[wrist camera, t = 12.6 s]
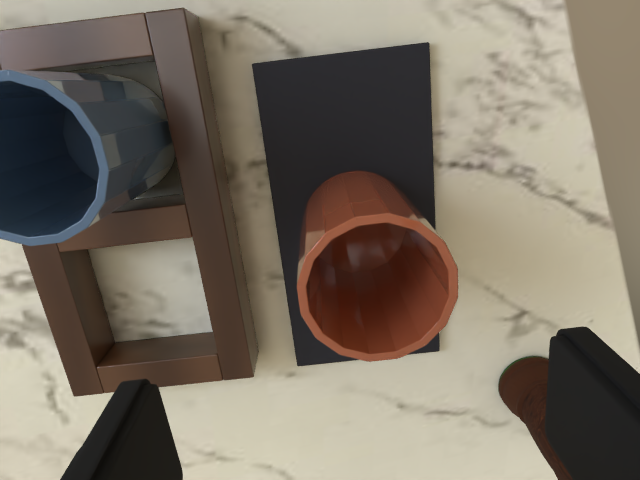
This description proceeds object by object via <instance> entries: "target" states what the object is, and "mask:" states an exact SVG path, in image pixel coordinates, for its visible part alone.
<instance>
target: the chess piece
mask: <svg viewBox="0 0 640 480" xmlns="http://www.w3.org/2000/svg"><path fill="white" fill-rule="evenodd" d="M548 365H549V360H548V359H545V358H542V357H535V356H533V357H526V358H522V359H519V360H517V361H515V362H514V363H512V364H511V365H510V366H508V367H507V368H506V369H505V371H504V372H503V374H502V375H501V378H500V381H499V393H500V396H501V398H502V400H503V402H504V403H505V404H506V405H507V407H508V408H509V409H510V410H511V412H512V413H514V414H515V415H516V416H518V417H519V418H520V419H521V421H522V422H524V423H525V424H526V426H527V428H528V430H529V432H530V434H531V436H532V437H533V439H534V441H535V443H536V445H537V446H538V448H539V450H540V451H541V453H542V454H543V456H544V458H545V459H546V461H547V462H548V464H549V465H550V466H551V468H552V469H553V471H554V472H555V474H556V476H557V478H558V480H573V479H572V477H571V476H570V474H569V473H568V471H567V470H566V468H565V467H564V465H563V463H562V462H561V460H560V459H559V457H558V456H557V454H556V453H555V451H554V450H553V448H552V447H551V445H550V444H549V442H548V439H547V437H546V433H545V413H546V397H547V381H548Z"/></svg>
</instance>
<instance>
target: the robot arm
mask: <svg viewBox="0 0 640 480" xmlns="http://www.w3.org/2000/svg"><path fill="white" fill-rule="evenodd" d="M545 433H546V437H547V439H548V442H549V444H550V445H551V447H552V448H553V450H554V451H555V453H556V454H557V456H558V457H559V459H560V460H561V462H562V463H563V465H564V467H565V468H566V470H567V471H568V473H569V474H570V476H571V477H572V479H573V480H640V374H639V373H638V372H637V371H636V370H635V369H634V368H632V367H631V366H630V365H629V364H628V363H627V362H626V361H625V360H624V359H622V358H621V357H620V356H619V355H618V354H617V353H616V352H615V351H613V350H612V349H611V348H610V347H609V346H608V345H607V344H606V343H605V342H603V341H602V340H601V339H600V338H599V337H598V336H597V335H596V334H595V333H593V332H592V331H591V330H590V329H589V328H587V327H576V328H567V329H560V330H559V331H558V332H557V335H556V336H553V337H552V338H551V339H550V348H549V365H548V381H547V397H546V413H545ZM60 480H183V473H182V468H181V464H180V461H179V457H178V454H177V450H176V447H175V443H174V440H173V436H172V433H171V429H170V426H169V423H168V419H167V416H166V412H165V409H164V405H163V402H162V398H161V395H160V391H159V388H158V386H157V385H156V384H151V383H150V381H149V380H148V379H138V380H130V381H123V382H121V383H120V384H119V386H118V387H117V389H116V391H115V392H114V394H113V396H112V397H111V399H110V401H109V402H108V404H107V406H106V407H105V409H104V411H103V412H102V414H101V416H100V417H99V419H98V421H97V422H96V424H95V426H94V427H93V429H92V431H91V432H90V434H89V436H88V437H87V439H86V441H85V442H84V444H83V446H82V447H81V448H80V449H79V450H78V452H77V453H76V455H75V456H74V458H73V460H72V461H71V463H70V465H69V466H68V468H67V469H66V471H65V473H64V474H63V476H62V478H61V479H60Z"/></svg>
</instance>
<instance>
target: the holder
mask: <svg viewBox="0 0 640 480" xmlns="http://www.w3.org/2000/svg"><path fill="white" fill-rule="evenodd" d="M147 61H155V63H156V67H157V72H158V77H159V82H160V86H161V91H162V96H163V100H164V105H165V110H166V114H167V119H168V124H169V128H170V133H171V138H172V142H173V147H174V152H175V156H176V161H177V166H178V170H179V175H180V180H181V184H182V189H183V194H180V195H172V196H163V197H154V198H146V199H137V200H130V201H129V202H127V203H126V204H124V205H123V206H121V207H120V208H118V209H116V210H115V211H113V212H112V213H110V214H109V215H107V216H105V217H104V218H102V219H101V220H99V221H98V222H96V223H94V224H93V225H91V226H90V227H88V228H87V229H85V230H83V231H81V232H80V233H78V234H76V235H75V236H73V237H71V238H69V239H68V240H66V241H64V242H62V243H54V244H45V245H36V246H28V245H24V244H22V246H23V249H24V252H25V255H26V258H27V261H28V264H29V267H30V270H31V273H32V276H33V279H34V282H35V284H36V287H37V290H38V293H39V296H40V299H41V302H42V305H43V308H44V311H45V314H46V317H47V319H48V322H49V325H50V328H51V331H52V334H53V337H54V340H55V343H56V346H57V349H58V352H59V355H60V357H61V360H62V363H63V366H64V369H65V372H66V375H67V378H68V381H69V384H70V387H71V390H72V392H73V395H74V396H84V395H93V394H102V393H110V392H115V391H116V389H117V387H118V386H119V384H120V383H121V382H123V381H130V380H138V379H148V380H149V381H150V383H151V384H156V385H157V386H158V387H166V386H175V385H184V384H194V383H203V382H213V381H222V380H232V379H241V378H250V377H254V372H255V367H256V362H257V357H258V352H259V351H258V346H257V340H256V334H255V329H254V323H253V318H252V312H251V307H250V301H249V296H248V290H247V284H246V279H245V273H244V268H243V262H242V257H241V251H240V246H239V240H238V235H237V229H236V223H235V218H234V212H233V207H232V201H231V196H230V190H229V185H228V179H227V174H226V168H225V162H224V157H223V151H222V146H221V140H220V135H219V129H218V124H217V118H216V112H215V107H214V101H213V96H212V90H211V85H210V79H209V74H208V68H207V63H206V57H205V51H204V46H203V40H202V35H201V29H200V24H199V18H198V16H196V15H195V14H193V13H191V12H190V11H188V10H186V9H185V8H177V9H169V10H161V11H152V12H146V13H136V14H128V15H120V16H112V17H103V18H95V19H87V20H79V21H71V22H63V23H55V24H47V25H39V26H31V27H23V28H15V29H6V30H0V70H6V69H9V70H29V71H49V72H65V71H73V70H81V69H89V68H97V67H106V66H114V65H122V64H130V63H139V62H147ZM190 237H193V241H194V245H195V250H196V255H197V259H198V264H199V269H200V273H201V278H202V283H203V287H204V292H205V297H206V301H207V306H208V311H209V315H210V320H211V325H212V329H213V332H209V333H200V334H191V335H182V336H173V337H164V338H154V339H145V340H136V341H127V342H118V343H115V342H114V339H113V336H112V332H111V329H110V325H109V322H108V319H107V315H106V312H105V309H104V305H103V302H102V298H101V295H100V292H99V288H98V285H97V281H96V278H95V275H94V271H93V268H92V264H91V261H90V258H89V254H88V251H87V249H93V248H102V247H111V246H120V245H128V244H137V243H146V242H155V241H164V240H172V239H181V238H190Z"/></svg>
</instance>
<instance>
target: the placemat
mask: <svg viewBox="0 0 640 480" xmlns="http://www.w3.org/2000/svg"><path fill="white" fill-rule="evenodd" d="M252 67H253V73H254V80H255V87H256V93H257V100H258V107H259V113H260V120H261V127H262V133H263V140H264V147H265V153H266V160H267V167H268V173H269V180H270V187H271V193H272V200H273V206H274V213H275V220H276V226H277V233H278V240H279V246H280V253H281V260H282V266H283V273H284V280H285V286H286V293H287V300H288V306H289V313H290V319H291V326H292V333H293V339H294V346H295V353H296V359H297V366H305V365H314V364H324V363H333V362H342V361H352V360H360V359H355V358H351V357H347V356H343V355H340V354H338V353H337V352H335V351H334V350H332V349H331V348H329V347H328V346H326V345H325V344H323V343H322V342H321V341H319V340H318V339H317V338H315V336H314V335H313V333H312V331H311V330H310V328H309V327H308V325H307V324H306V322H305V320H304V319H303V317H302V316H301V313H300V307H299V300H298V293H297V275H298V262H299V249H300V235H301V222H302V219H303V214H304V210H305V207H306V204H307V202H308V200H309V198H310V196H311V195H312V194H313V192H314V191H315V190H316V189H317V188H318V187H319V186H320V185H321V184H322V183H323V182H324V181H326V180H328V179H329V178H331V177H333V176H335V175H337V174H340V173H343V172H348V171H368V172H373V173H376V174H379V175H381V176H383V177H385V178H387V179H388V180H389V181H391V182H392V183H393V184H394V185H395V186H397V187H398V188H399V189H400V190H401V191H402V192H403V193H404V194H405V195H406V197H407V198H408V199H409V200H410V201H411V202H412V204H413V205H414V206H415V207H416V208H417V210H418V211H419V212H420V213H421V214H422V215H423V217H424V218H425V219H426V220H427V221H428V223H429V224H430V225H431V226H432V227H433V228H434V230H435V201H434V171H433V141H432V112H431V82H430V52H429V43H428V42H427V43H419V44H411V45H403V46H394V47H386V48H378V49H369V50H361V51H353V52H345V53H336V54H328V55H320V56H311V57H303V58H295V59H287V60H278V61H270V62H262V63H254V64H252ZM436 351H439V333H438V334H437V335H436V336H435V337H434V338H433V339H432V340H431V341H430V342H429V343H428V344H427V345H425V346H424V347H422V348H419V349H417V350H415V351H413V352H411V353H409V354H417V353H426V352H436ZM407 355H408V354H407Z"/></svg>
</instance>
